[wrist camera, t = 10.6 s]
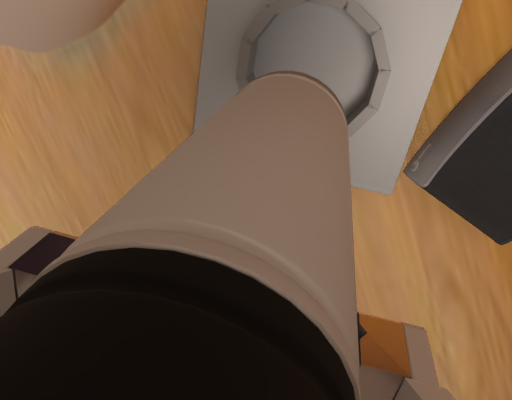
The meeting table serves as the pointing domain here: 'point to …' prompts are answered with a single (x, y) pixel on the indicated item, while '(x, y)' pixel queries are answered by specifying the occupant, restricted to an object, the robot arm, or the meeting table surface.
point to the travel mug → (208, 269)
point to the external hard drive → (474, 156)
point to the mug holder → (335, 65)
